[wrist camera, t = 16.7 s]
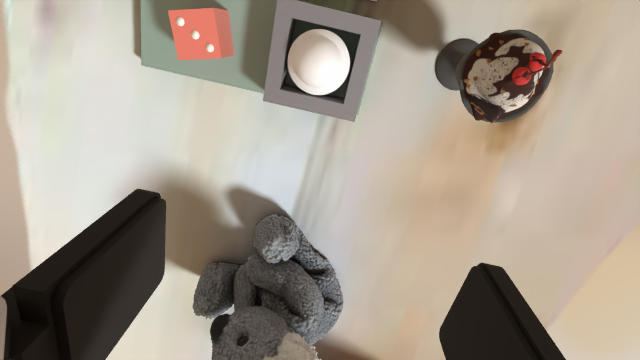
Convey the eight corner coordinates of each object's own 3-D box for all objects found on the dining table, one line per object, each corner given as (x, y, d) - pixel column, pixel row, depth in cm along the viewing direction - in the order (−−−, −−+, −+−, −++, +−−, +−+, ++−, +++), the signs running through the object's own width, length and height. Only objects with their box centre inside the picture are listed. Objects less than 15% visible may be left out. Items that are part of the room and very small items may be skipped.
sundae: (488, 18, 32) (599, 8, 18) (498, 85, 34) (603, 121, 21) (420, 44, 33) (476, 53, 19) (435, 106, 36) (494, 154, 22)
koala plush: (278, 198, 41) (232, 325, 24) (372, 282, 46) (392, 440, 28) (197, 271, 47) (110, 418, 29) (288, 339, 52) (260, 501, 34)
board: (148, -33, 32) (118, -43, 27) (380, 23, 32) (386, 22, 28) (149, 63, 35) (122, 68, 31) (357, 111, 36) (359, 122, 32)
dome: (297, 22, 31) (290, 21, 26) (355, 36, 31) (358, 37, 27) (287, 83, 33) (279, 91, 29) (341, 95, 33) (341, 105, 29)
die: (187, 12, 32) (167, 10, 28) (228, 10, 31) (213, 7, 28) (195, 56, 33) (178, 60, 30) (234, 55, 33) (221, 58, 29)
